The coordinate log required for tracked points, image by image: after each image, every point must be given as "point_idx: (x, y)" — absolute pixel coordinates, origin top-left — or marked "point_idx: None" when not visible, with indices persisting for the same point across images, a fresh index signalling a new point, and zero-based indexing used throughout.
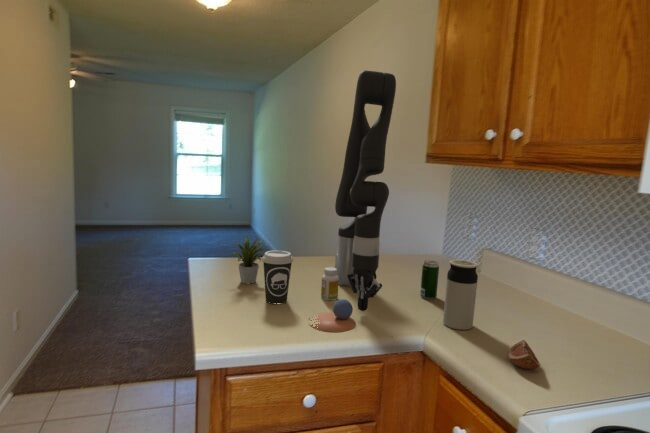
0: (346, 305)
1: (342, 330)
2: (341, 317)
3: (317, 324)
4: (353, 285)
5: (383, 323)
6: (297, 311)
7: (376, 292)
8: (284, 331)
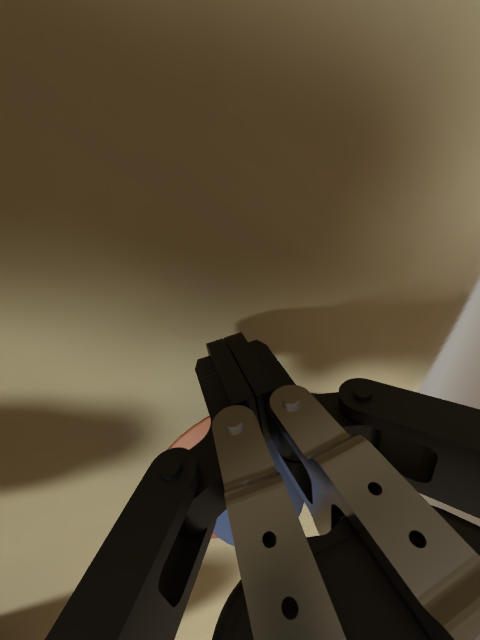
0: (303, 503)
1: None
2: None
3: None
4: (188, 599)
5: (363, 267)
6: None
7: (465, 416)
8: None
